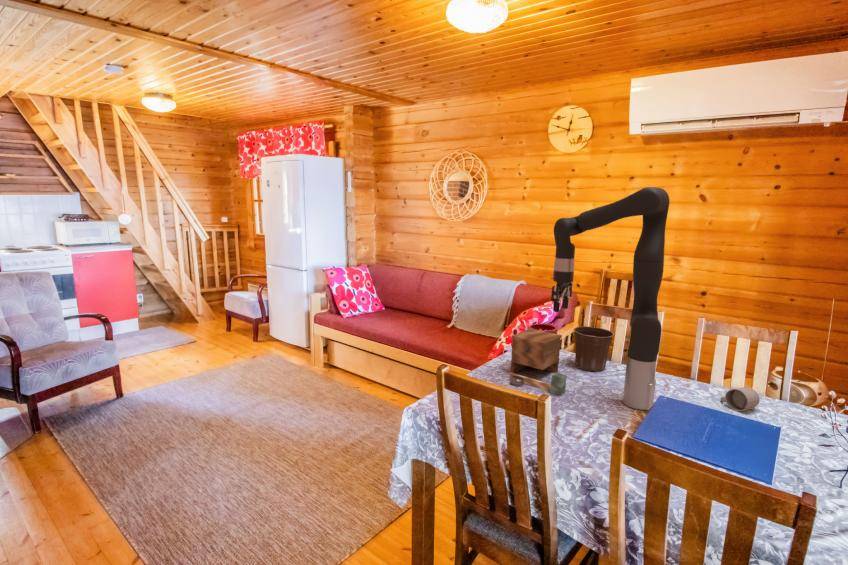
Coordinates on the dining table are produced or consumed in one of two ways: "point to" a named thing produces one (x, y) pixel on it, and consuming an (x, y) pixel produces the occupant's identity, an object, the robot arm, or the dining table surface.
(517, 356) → the bread box
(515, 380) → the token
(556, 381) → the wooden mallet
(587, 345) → the plant pot
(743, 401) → the ceramic mug
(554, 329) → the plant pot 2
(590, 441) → the dining table surface
